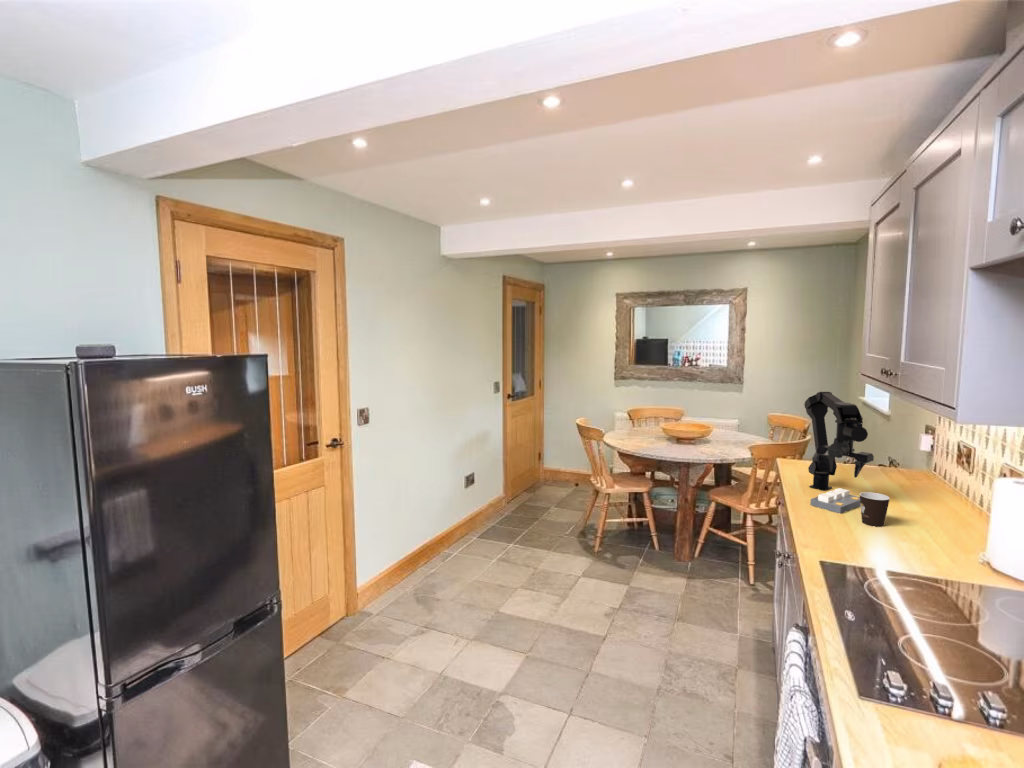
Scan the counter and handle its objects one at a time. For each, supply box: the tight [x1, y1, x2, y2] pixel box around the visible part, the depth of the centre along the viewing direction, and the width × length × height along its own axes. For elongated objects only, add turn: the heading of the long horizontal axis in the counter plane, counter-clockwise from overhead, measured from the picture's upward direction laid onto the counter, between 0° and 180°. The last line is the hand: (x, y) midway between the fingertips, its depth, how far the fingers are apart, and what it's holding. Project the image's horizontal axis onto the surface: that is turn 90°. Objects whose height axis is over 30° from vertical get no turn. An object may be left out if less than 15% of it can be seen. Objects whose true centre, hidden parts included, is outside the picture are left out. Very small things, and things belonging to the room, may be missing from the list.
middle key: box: [825, 490, 842, 500], centre depth 200 cm, size 4×4×3 cm
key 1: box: [817, 492, 834, 503], centre depth 197 cm, size 4×4×3 cm
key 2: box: [833, 487, 851, 497], centre depth 203 cm, size 4×4×3 cm
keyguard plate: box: [810, 493, 861, 515], centre depth 199 cm, size 18×11×3 cm, turn 121°
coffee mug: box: [859, 491, 891, 528], centre depth 181 cm, size 12×9×10 cm
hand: (842, 474), depth 201 cm, fingers open, 9 cm apart
